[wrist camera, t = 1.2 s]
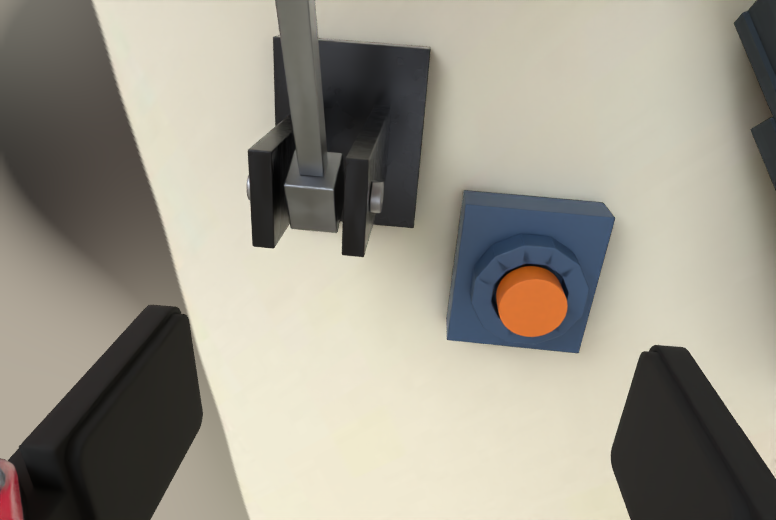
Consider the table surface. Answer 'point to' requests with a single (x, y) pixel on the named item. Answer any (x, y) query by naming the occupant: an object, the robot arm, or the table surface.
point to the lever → (308, 125)
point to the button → (531, 301)
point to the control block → (525, 263)
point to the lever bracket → (350, 139)
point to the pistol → (762, 71)
